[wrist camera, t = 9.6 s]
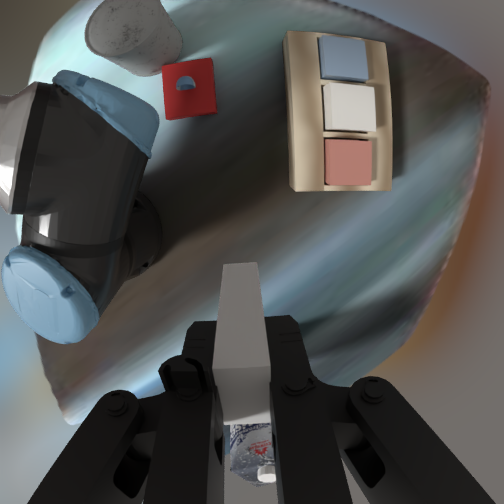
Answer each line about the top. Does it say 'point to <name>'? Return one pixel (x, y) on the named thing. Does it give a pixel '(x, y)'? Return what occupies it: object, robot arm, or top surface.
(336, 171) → the red key
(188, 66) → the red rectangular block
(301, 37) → the frame
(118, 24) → the grey cylinder
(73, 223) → the robot arm
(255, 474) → the juice carton
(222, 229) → the top surface
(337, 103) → the white key
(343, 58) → the blue key
